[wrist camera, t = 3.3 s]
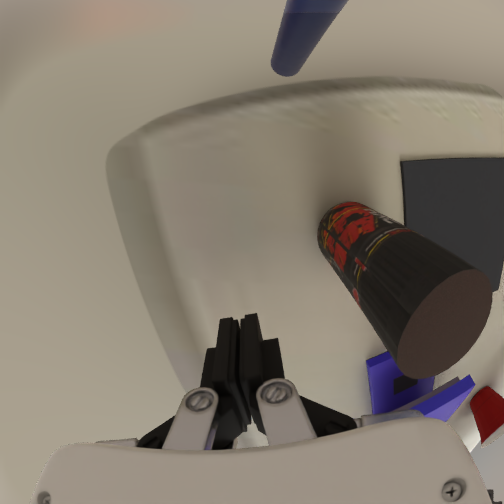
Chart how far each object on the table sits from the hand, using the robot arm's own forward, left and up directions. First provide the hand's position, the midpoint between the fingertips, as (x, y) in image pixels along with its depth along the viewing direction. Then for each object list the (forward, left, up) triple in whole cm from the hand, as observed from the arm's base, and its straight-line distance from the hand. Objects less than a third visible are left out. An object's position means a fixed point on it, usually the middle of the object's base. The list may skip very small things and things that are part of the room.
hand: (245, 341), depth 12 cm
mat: (+3, +24, -13) cm, 28 cm away
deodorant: (0, +9, -13) cm, 16 cm away
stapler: (+29, +18, -13) cm, 37 cm away
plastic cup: (+41, +41, -13) cm, 60 cm away
